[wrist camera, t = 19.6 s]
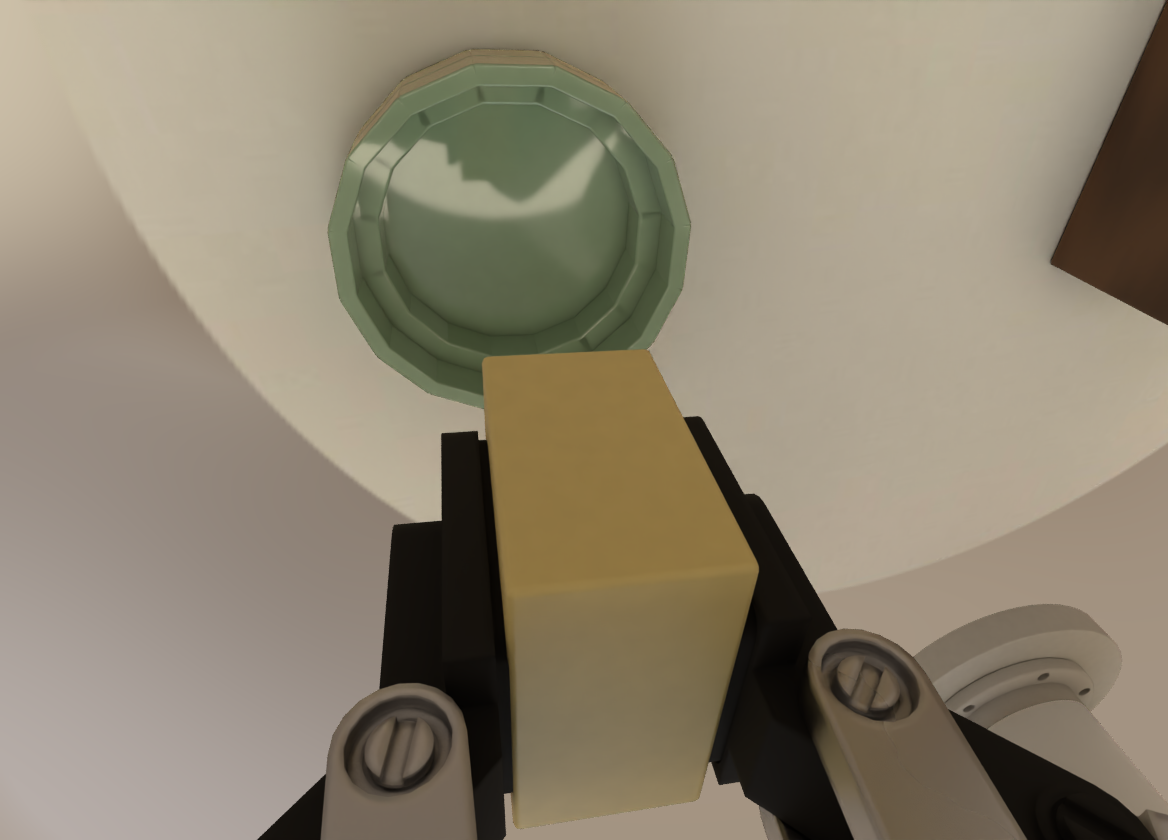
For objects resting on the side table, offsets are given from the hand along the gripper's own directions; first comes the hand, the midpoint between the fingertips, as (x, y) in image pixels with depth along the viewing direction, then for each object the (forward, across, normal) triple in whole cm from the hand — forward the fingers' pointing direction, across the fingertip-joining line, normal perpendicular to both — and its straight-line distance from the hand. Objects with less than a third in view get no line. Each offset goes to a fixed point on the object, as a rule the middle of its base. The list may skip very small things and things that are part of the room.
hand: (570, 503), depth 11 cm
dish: (+14, 0, 0) cm, 14 cm away
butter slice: (+1, 0, 0) cm, 1 cm away
